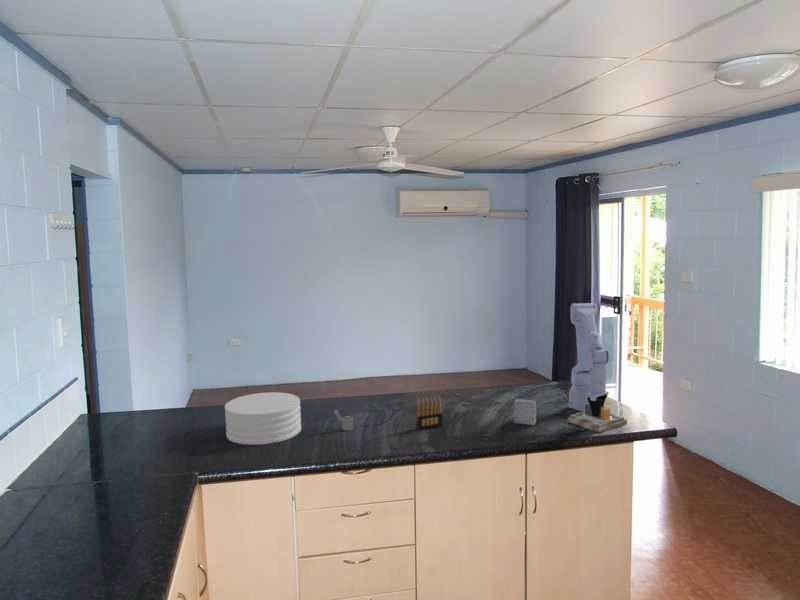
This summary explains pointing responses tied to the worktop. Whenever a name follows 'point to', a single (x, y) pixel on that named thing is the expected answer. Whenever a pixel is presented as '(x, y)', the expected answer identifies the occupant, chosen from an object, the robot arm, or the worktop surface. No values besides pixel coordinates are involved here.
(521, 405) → the medicine box
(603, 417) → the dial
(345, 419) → the lighter
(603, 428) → the square tray
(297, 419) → the plate stack
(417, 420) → the ammunition clip
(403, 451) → the worktop surface
